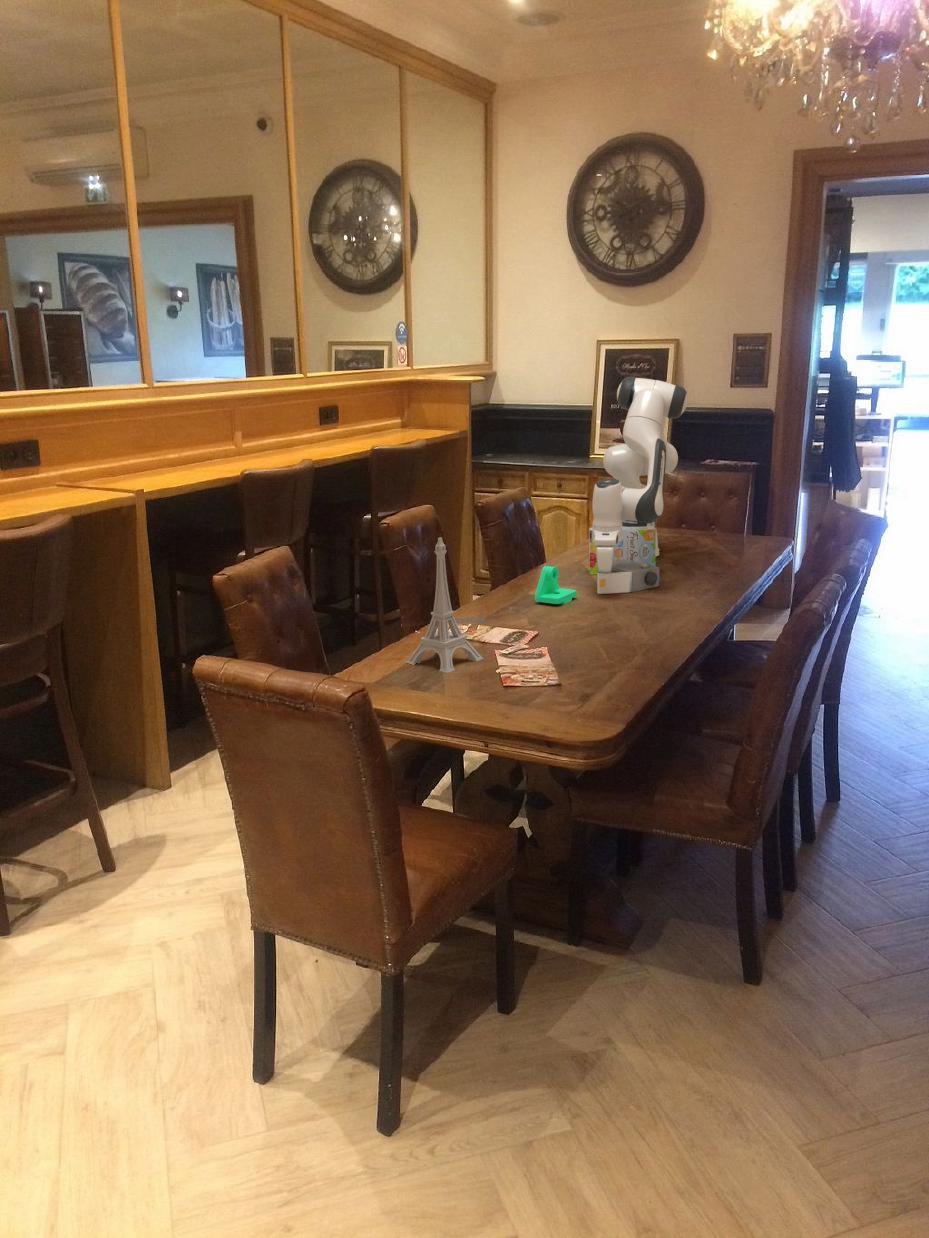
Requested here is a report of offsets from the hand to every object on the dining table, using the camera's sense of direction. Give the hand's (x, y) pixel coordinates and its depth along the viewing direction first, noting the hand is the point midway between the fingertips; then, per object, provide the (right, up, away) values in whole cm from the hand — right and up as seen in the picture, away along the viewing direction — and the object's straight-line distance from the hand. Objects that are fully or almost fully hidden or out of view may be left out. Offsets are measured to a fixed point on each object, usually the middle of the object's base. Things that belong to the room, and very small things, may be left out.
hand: (607, 580), depth 298 cm
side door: (+2, -4, -1) cm, 5 cm away
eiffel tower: (-48, -22, -61) cm, 80 cm away
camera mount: (-16, -7, -8) cm, 19 cm away
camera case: (+8, -1, +9) cm, 12 cm away
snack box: (+8, +3, +25) cm, 27 cm away
